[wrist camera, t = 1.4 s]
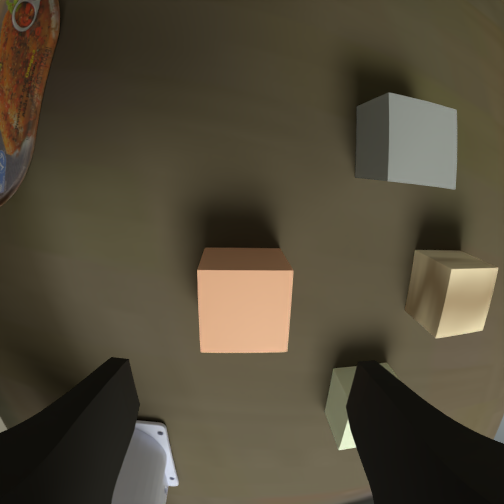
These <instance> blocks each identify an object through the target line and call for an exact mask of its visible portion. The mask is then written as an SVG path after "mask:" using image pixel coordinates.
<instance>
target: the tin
mask: <svg viewBox="0 0 504 504" xmlns="http://www.w3.org/2000/svg"><path fill="white" fill-rule="evenodd" d="M59 28H60V7H59V1H58V0H0V206H2V205H3V204H4V203H6V202H7V201H8V200H9V199H10V198H11V197H12V196H13V194H14V193H15V192H16V191H17V189H18V188H19V186H20V184H21V183H22V181H23V179H24V177H25V175H26V173H27V170H28V168H29V165H30V163H31V159H32V156H33V152H34V147H35V141H36V134H37V127H38V121H39V115H40V110H41V104H42V99H43V94H44V90H45V85H46V81H47V77H48V73H49V69H50V65H51V61H52V58H53V54H54V51H55V48H56V44H57V40H58V36H59Z"/></svg>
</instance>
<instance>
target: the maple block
mask: <svg viewBox="0 0 504 504" xmlns="http://www.w3.org/2000/svg"><path fill="white" fill-rule="evenodd" d="M497 272H498V267H496V266H494V265H491V264H489V263H487V262H485V261H483V260H481V259H478V258H476V257H474V256H472V255H470V254H467V253H465V252H463V251H457V250H415V252H414V259H413V266H412V272H411V278H410V284H409V290H408V295H407V300H406V306H405V311H406V312H407V313H408V314H409V315H411V316H412V317H413V318H414V319H415V320H416V321H417V322H418V323H419V324H420V325H421V326H423V327H424V328H425V329H426V330H427V331H428V332H429V333H430V334H431V335H432V336H433V337H434V338H442V337H448V336H454V335H460V334H465V333H471V332H476V331H481V330H483V327H484V324H485V320H486V317H487V313H488V309H489V306H490V302H491V298H492V294H493V290H494V286H495V281H496V277H497Z"/></svg>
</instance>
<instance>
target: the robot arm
mask: <svg viewBox="0 0 504 504" xmlns="http://www.w3.org/2000/svg"><path fill="white" fill-rule="evenodd" d="M139 406H140V403H139V400H138V396H137V392H136V388H135V384H134V380H133V376H132V372H131V367H130V363H129V359H123V358H114V357H111V358H110V359H108V360H107V361H106V362H104V363H103V364H102V365H101V366H100V367H98V368H97V369H96V370H95V371H93V372H92V373H91V374H90V375H89V376H87V377H86V378H85V379H84V380H82V381H81V382H80V383H79V384H77V385H76V386H75V387H74V388H72V389H71V390H70V391H69V392H67V393H66V394H65V395H63V396H62V397H60V398H59V399H58V400H56V401H55V402H54V403H52V404H51V405H49V406H48V407H47V408H45V409H44V410H42V411H41V412H39V413H37V414H36V415H34V416H33V417H31V418H29V419H27V420H25V421H24V422H22V423H20V424H18V425H16V426H14V427H12V428H10V429H8V430H6V431H4V432H1V433H0V504H166V498H167V491H168V486H178V484H179V480H178V477H177V473H176V469H175V464H174V460H173V456H172V452H171V447H170V443H169V438H168V433H167V429H166V426H165V425H164V424H163V423H160V422H150V421H140V420H137V416H138V411H139ZM346 410H347V416H348V421H349V425H350V430H351V433H352V436H353V439H354V442H355V445H356V448H357V451H358V453H359V456H360V459H361V462H362V464H363V467H364V470H365V473H366V476H367V478H368V481H369V484H370V488H371V491H372V495H373V500H374V504H504V444H503V443H500V442H497V441H495V440H493V439H490V438H488V437H486V436H483V435H481V434H479V433H477V432H475V431H473V430H471V429H469V428H467V427H465V426H463V425H462V424H460V423H458V422H456V421H454V420H453V419H451V418H450V417H448V416H446V415H445V414H443V413H442V412H441V411H439V410H438V409H436V408H435V407H433V406H432V405H430V404H429V403H428V402H426V401H425V400H424V399H422V398H421V397H420V396H418V395H417V394H416V393H415V392H413V391H412V390H411V389H410V388H408V387H407V386H406V385H405V384H404V383H402V382H401V381H400V380H399V379H397V378H396V377H395V376H394V375H393V374H391V373H390V372H389V371H388V370H387V369H385V368H384V367H383V366H382V365H381V364H379V363H378V362H377V361H375V360H373V361H362V362H358V363H357V367H356V371H355V375H354V379H353V382H352V386H351V390H350V393H349V397H348V400H347V404H346ZM160 431H161V432H160Z"/></svg>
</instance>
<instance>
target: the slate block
mask: <svg viewBox="0 0 504 504" xmlns="http://www.w3.org/2000/svg"><path fill="white" fill-rule="evenodd" d="M456 169H457V110H455V109H452V108H448V107H445V106H442V105H438V104H434V103H431V102H427V101H423V100H419V99H415V98H411V97H407V96H403V95H398V94H394V93H389V92H388V93H386V94H384V95H381V96H379V97H377V98H374V99H372V100H370V101H368V102H365V103H363V104H361V105H359V106H357V131H356V168H355V178H365V179H374V180H383V181H392V182H401V183H410V184H418V185H426V186H434V187H441V188H448V189H455V188H456Z"/></svg>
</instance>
